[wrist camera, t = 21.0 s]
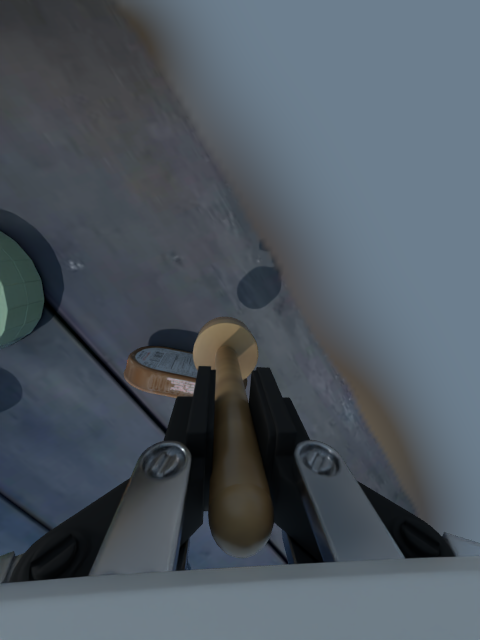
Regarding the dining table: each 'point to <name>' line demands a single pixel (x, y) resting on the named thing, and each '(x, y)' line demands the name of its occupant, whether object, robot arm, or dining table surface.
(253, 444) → the wooden pestle
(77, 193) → the dining table surface
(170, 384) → the tin
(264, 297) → the dining table surface
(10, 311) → the bowl
